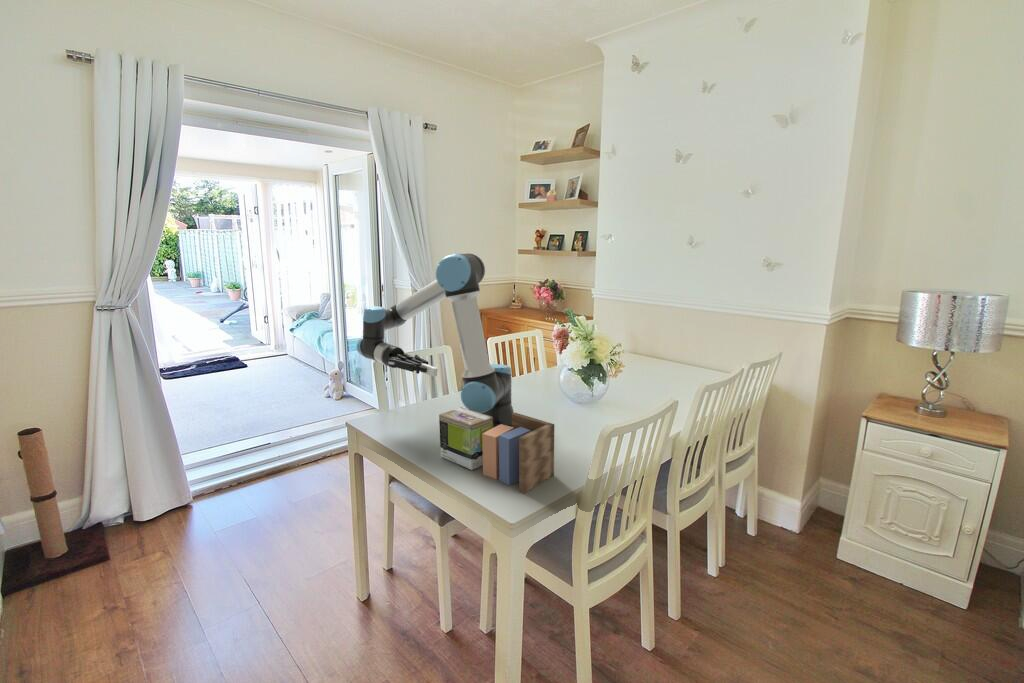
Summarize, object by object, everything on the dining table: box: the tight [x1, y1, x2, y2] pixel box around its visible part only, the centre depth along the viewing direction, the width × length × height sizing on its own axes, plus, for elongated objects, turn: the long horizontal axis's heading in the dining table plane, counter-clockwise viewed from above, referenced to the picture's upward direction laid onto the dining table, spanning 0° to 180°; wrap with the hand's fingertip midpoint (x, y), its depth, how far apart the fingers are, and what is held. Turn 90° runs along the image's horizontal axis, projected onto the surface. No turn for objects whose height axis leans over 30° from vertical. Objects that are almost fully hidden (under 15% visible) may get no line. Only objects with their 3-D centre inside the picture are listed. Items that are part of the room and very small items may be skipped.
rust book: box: [482, 424, 514, 480], centre depth 142 cm, size 9×5×13 cm, turn 144°
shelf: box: [512, 412, 555, 494], centre depth 139 cm, size 14×15×16 cm
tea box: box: [438, 406, 493, 471], centre depth 150 cm, size 15×10×15 cm
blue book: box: [498, 427, 531, 486], centre depth 138 cm, size 9×4×14 cm, turn 135°
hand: (435, 372), depth 156 cm, fingers closed
